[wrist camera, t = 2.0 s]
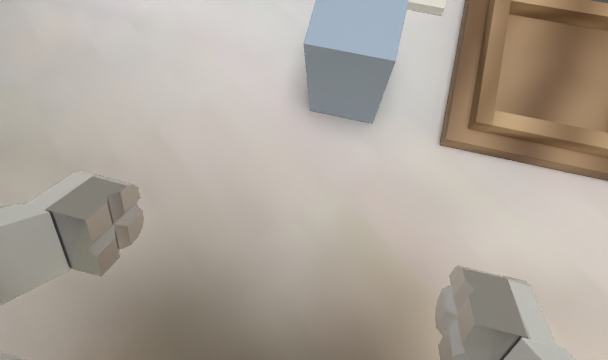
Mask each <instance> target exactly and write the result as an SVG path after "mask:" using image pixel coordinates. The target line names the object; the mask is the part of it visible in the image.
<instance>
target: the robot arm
mask: <svg viewBox="0 0 608 360" xmlns="http://www.w3.org/2000/svg"><path fill="white" fill-rule="evenodd" d="M139 199H140V194H139V189H138V187H136V186H135V185H133V184H130V183H126V182H123V181H119V180H115V179H112V178H108V177H104V176H101V175H96V174H92V173H89V172H85V171H77V172H74V173H72V174H71V175H69V176H68V177H66V178H64V179H63V180H61V181H60V182H58V183H57V184H55V185H54V186H52V187H51V188H49V189H47V190H46V191H44V192H43V193H41V194H40V195H38V196H37V197H35V198H34V199H32V200H30V201H29V202H27V203H26V204H24V205H22V204H14V205H10V206H6V207H2V208H0V305H2V304H4V303H6V302H8V301H10V300H12V299H14V298H16V297H18V296H20V295H22V294H24V293H26V292H28V291H30V290H31V289H33V288H35V287H37V286H39V285H41V284H43V283H45V282H47V281H49V280H51V279H53V278H55V277H57V276H59V275H61V274H63V273H65V272H67V271H69V270H70V268H71V269H75V270H79V271H83V272H87V273H91V274H95V275H99V276H102V275H103V274H104V273H105V272H106V271H107V270H108V269H109V268H110V267H111V266H112V265H113V264H114V263H115V261H116V260H117V259H118V258H119V257H120V249H122V248H125V247H127V246H129V245H131V244H132V243H133V242H134V241H135V240H136V239H137V237H138V236H139V233H140V231H141V229H142V227H143V219H144V218H143V211H142V210H141V209H140V208H139V206H138V205H137V204H136V203H137V201H138V200H139ZM449 277H450V283H451V285H449V286H447V287H445V288H443V289H442V291H441V293H440V295H439V297H438V300H437V305H436V312H435V320H436V328H437V329H438V330H439V332H440V333H441V334H442V336H443V338H442V340H441V341H440V343H439V345H438V346H439V354H440V360H576V359H575V358H574V357H573V356H572V355H571V354H570V353H569V352H568V351H567V350H566V349H563V348H560V347H557V345H556V343H555V340H554V338H553V336H552V334H551V331H550V329H549V327H548V324H547V322H546V320H545V318H544V315H543V313H542V311H541V308H540V306H539V304H538V302H537V299H536V297H535V295H534V292H533V290H532V288H531V286H530V285H529V284H528V283H527V282H526V281H523V280H519V279H514V278H510V277H506V276H500V275H496V274H492V273H487V272H483V271H479V270H475V269H471V268H467V267H463V266H459V265H458V266H456V267H455V268H454V269H453V271H452V273H451V274H450V276H449ZM0 360H25V359H22V358H19V357H16V356H12V355H9V354H6V353H3V352H0Z"/></svg>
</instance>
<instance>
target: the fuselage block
mask: <svg viewBox="0 0 608 360" xmlns="http://www.w3.org/2000/svg"><path fill="white" fill-rule="evenodd" d="M408 1H409V0H316V1H315V5H314V8H313V12H312V15H311V19H310V23H309V26H308V30H307V33H306V37H305V41H304V52H305V63H306V73H307V84H308V94H309V105H310V111H314V112H319V113H324V114H329V115H333V116H338V117H343V118H348V119H352V120H357V121H362V122H367V123H371V124H372V123H373V121H374V118H375V115H376V113H377V110H378V107H379V104H380V102H381V99H382V96H383V94H384V91H385V88H386V85H387V83H388V80H389V77H390V75H391V72H392V69H393V66H394V64H395V61H396V56H397V52H398V47H399V42H400V38H401V33H402V29H403V24H404V19H405V15H406V10H407V5H408Z"/></svg>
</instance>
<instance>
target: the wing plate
mask: <svg viewBox="0 0 608 360" xmlns="http://www.w3.org/2000/svg"><path fill="white" fill-rule="evenodd" d="M591 1H597V2H603V3H608V0H591Z"/></svg>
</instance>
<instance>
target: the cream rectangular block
mask: <svg viewBox="0 0 608 360" xmlns="http://www.w3.org/2000/svg"><path fill="white" fill-rule="evenodd" d="M445 4H446V0H409V1H408V5H407V9H408V10H414V11H419V12H424V13H429V14H434V15H439V16H441V15H442V13H443V10H444V8H445Z"/></svg>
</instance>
